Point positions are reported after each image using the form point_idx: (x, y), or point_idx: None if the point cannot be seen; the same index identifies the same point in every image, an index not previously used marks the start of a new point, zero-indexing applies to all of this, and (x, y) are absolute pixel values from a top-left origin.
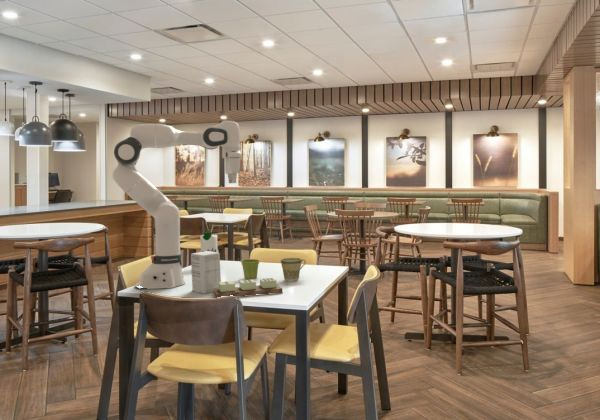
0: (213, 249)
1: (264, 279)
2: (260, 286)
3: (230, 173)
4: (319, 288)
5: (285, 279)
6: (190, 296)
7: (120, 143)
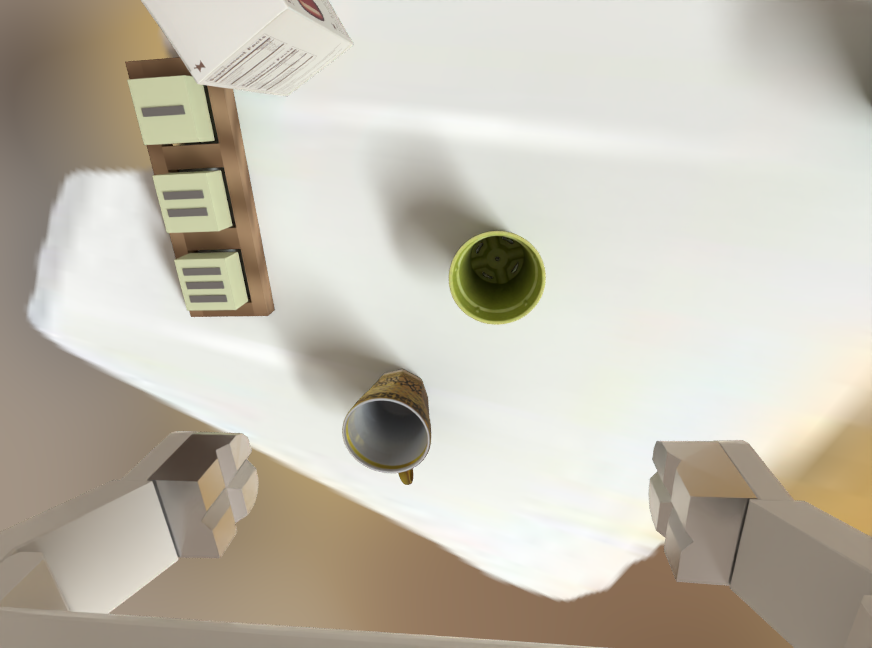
0: None
1: (202, 272)
2: (242, 253)
3: (18, 609)
4: (244, 428)
5: (395, 371)
6: None
7: None
